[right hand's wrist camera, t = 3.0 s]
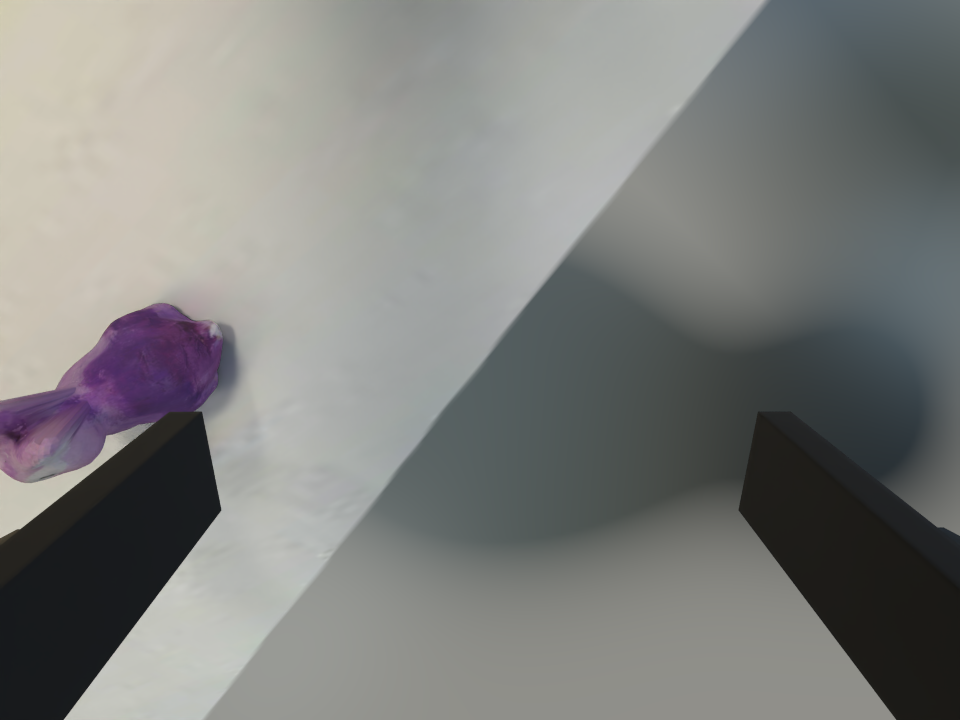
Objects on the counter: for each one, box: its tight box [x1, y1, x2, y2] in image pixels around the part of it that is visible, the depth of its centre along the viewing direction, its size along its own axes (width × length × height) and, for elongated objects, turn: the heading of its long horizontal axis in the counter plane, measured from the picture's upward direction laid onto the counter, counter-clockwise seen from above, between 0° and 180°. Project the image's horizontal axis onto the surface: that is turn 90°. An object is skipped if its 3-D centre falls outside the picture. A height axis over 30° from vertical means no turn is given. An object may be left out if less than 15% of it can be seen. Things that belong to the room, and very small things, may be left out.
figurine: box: [0, 303, 223, 483], centre depth 35 cm, size 9×10×15 cm
